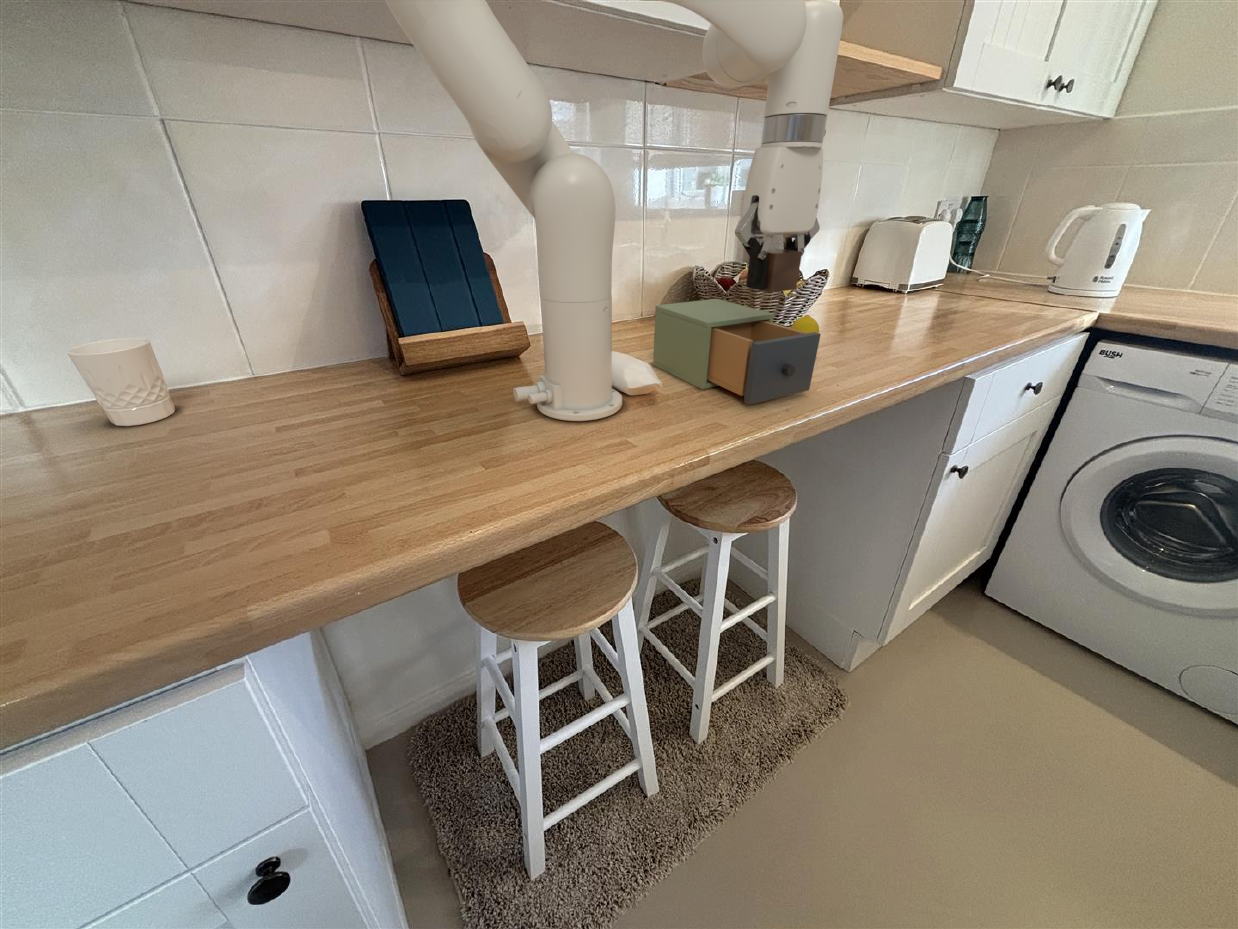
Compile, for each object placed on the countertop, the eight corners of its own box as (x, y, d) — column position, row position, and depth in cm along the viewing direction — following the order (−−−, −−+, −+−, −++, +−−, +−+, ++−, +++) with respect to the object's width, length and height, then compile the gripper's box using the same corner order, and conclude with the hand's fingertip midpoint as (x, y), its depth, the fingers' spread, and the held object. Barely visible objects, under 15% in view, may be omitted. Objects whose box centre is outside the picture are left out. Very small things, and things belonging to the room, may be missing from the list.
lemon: (810, 353, 98) (818, 311, 94) (817, 361, 93) (826, 318, 89) (782, 352, 98) (789, 311, 94) (787, 360, 93) (795, 317, 89)
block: (770, 292, 68) (775, 253, 66) (745, 286, 72) (750, 249, 69) (796, 289, 70) (802, 251, 68) (770, 284, 74) (775, 248, 72)
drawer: (815, 392, 76) (827, 335, 72) (755, 407, 70) (764, 346, 66) (749, 366, 87) (756, 315, 83) (693, 377, 82) (697, 323, 77)
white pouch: (639, 410, 71) (642, 372, 69) (595, 386, 80) (596, 351, 77) (671, 402, 74) (674, 366, 72) (625, 380, 83) (627, 347, 80)
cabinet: (764, 376, 85) (774, 313, 80) (701, 389, 79) (708, 322, 74) (711, 354, 96) (716, 298, 91) (652, 364, 90) (655, 305, 85)
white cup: (189, 403, 73) (159, 335, 68) (168, 423, 66) (133, 350, 62) (122, 410, 70) (86, 340, 65) (94, 432, 64) (52, 356, 59)
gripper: (816, 140, 69) (793, 278, 77) (720, 134, 61) (707, 287, 70) (862, 136, 63) (832, 285, 72) (763, 129, 56) (743, 296, 64)
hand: (770, 285), depth 71 cm, fingers closed on block, 5 cm apart
